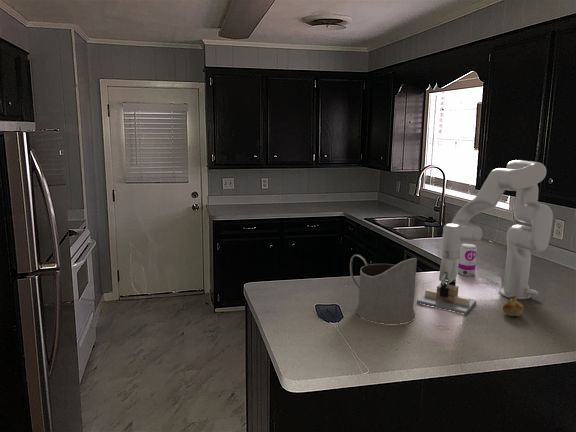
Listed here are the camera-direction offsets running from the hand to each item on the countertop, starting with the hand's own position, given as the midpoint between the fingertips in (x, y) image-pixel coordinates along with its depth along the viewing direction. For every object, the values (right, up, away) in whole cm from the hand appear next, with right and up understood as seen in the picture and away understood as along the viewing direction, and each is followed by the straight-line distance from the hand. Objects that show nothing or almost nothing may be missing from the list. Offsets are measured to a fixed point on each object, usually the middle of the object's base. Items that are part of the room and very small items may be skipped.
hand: (447, 293), depth 199 cm
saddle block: (0, -3, +1) cm, 3 cm away
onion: (+22, -7, -11) cm, 26 cm away
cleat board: (0, -4, +1) cm, 4 cm away
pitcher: (-31, -6, -8) cm, 32 cm away
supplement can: (+24, +3, +42) cm, 48 cm away
